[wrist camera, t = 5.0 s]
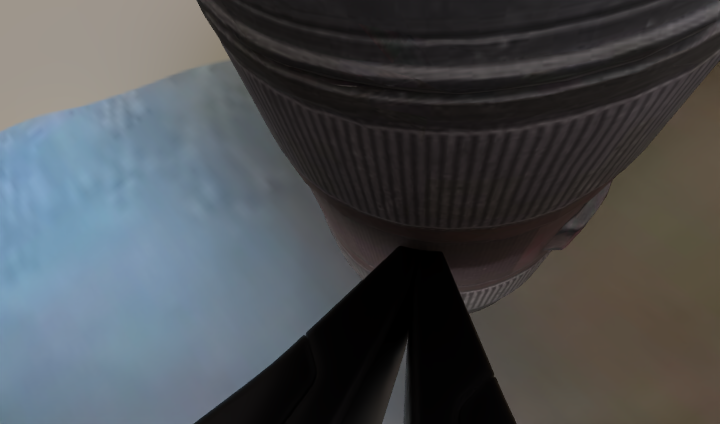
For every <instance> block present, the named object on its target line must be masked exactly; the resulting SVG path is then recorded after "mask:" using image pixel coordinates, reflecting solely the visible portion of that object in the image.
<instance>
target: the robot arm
mask: <svg viewBox="0 0 720 424" xmlns="http://www.w3.org/2000/svg"><path fill="white" fill-rule="evenodd" d="M407 339H408V344H407ZM406 344H407V358H406V381H405V404H404V424H516V422H515V419H514V417H513V415H512V413H511V411H510V409H509V406H508V404H507V402H506V400H505V398H504V395H503V393H502V391H501V388H500V386H499V384H498V381H497V379H496V378H495V377H494V372H493V370H492V368H491V365H490V363H489V360H488V358H487V356H486V353H485V351H484V349H483V346H482V344H481V342H480V339H479V337H478V334H477V332H476V330H475V327H474V325H473V323H472V320H471V318H470V316H469V313H468V311H467V308H466V306H465V304H464V301H463V299H462V297H461V294H460V292H459V289H458V287H457V285H456V282H455V280H454V278H453V275H452V273H451V271H450V268H449V266H448V263H447V261H446V259H445V256H444V254H443V252H441V251H426V250H421V252H420V250H418V249H413V248H408V247H404V246H398V247H397V248H396V249H395V250H394V251H393V252H392V253H391V254H390V255H389V256H388V257H387V258H386V259H384V260H383V261H382V262H381V263H380V264H379V265H378V266H377V267H376V268H375V269H374V270H373V271H372V272H371V273H370V274H368V275H367V276H366V277H365V278H364V279H363V280H362V281H361V282H360V283H359V284H358V285H357V286H356V287H355V288H353V289H352V290H351V291H350V292H349V293H348V294H347V295H346V296H345V297H344V298H343V299H342V300H341V301H340V302H339V303H337V304H336V305H335V306H334V307H333V308H332V309H331V310H330V311H329V312H328V313H327V314H326V315H325V316H324V317H323V318H321V319H320V320H319V321H318V322H317V323H316V324H315V325H314V326H313V327H312V328H311V329H310V330H309V331H308V332H307V333H306V335H303V336H302V337H301V338H300V339H299V340H298V341H297V342H296V343H295V344H293V345H292V346H291V347H290V348H289V349H288V350H287V351H286V352H285V353H283V354H282V355H281V356H280V357H279V358H278V359H277V360H276V361H274V362H273V363H272V364H271V365H270V366H269V367H267V368H266V369H265V370H263V371H262V372H261V373H260V374H258V375H257V376H256V377H255V378H253V379H252V380H251V381H250V382H248V383H247V384H246V385H244V386H243V387H242V388H240V389H239V390H238V391H236V392H235V393H234V394H232V395H231V396H230V397H228V398H227V399H226V400H224V401H223V402H222V403H220V404H219V405H218V406H216V407H215V408H214V409H212V410H211V411H210V412H208V413H207V414H206V415H204V416H203V417H202V418H200V419H199V420H198V421H196V422H195V423H194V424H382V422H383V419H384V415H385V412H386V409H387V406H388V403H389V399H390V396H391V393H392V390H393V387H394V383H395V380H396V377H397V374H398V371H399V367H400V364H401V361H402V358H403V355H404V351H405V348H406Z"/></svg>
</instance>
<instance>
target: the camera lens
mask: <svg viewBox="0 0 720 424" xmlns="http://www.w3.org/2000/svg"><path fill="white" fill-rule="evenodd" d="M197 2H198V4H199V6H200V8H201V10H202V12H203V14H204V16H205V17H206V18H207V20H208V21H209V23H210V25H211V27H212V28H213V30H214V31H215V32H216V34H217V35H218V37H219V39H220V41H221V43H222V45H223V46H224V48H225V50H226V52H227V54H228V56H229V58H230V59H231V61H232V63H233V65H234V67H235V68H236V70H237V72H238V74H239V76H240V77H241V79H242V81H243V83H244V85H245V86H246V88H247V90H248V92H249V94H250V95H251V97H252V99H253V101H254V103H255V104H256V106H257V108H258V110H259V112H260V113H261V115H262V117H263V119H264V121H265V122H266V124H267V126H268V128H269V130H270V131H271V133H272V135H273V137H274V139H275V140H276V142H277V143H278V145H279V147H280V148H281V150H282V151H283V153H284V154H285V156H286V157H287V158H288V160H289V161H290V162H291V164H292V165H293V166H294V168H295V169H296V170H297V172H298V173H299V174H300V176H301V177H302V178H303V180H304V181H305V183H306V184H308V185H309V186H310V188H311V190H312V192H313V194H314V195H315V197H316V199H317V201H318V203H319V205H320V207H321V209H322V211H323V213H324V215H325V218H326V221H327V223H328V226H329V228H330V230H331V232H332V234H333V236H334V238H335V240H336V242H337V244H338V246H339V248H340V250H341V252H342V253H343V255H344V257H345V258H346V260H347V261H348V263H349V265H350V266H351V267H352V268H353V269H354V270H355V271H356V272H357V274H358V275H359V276H360V277H361V278H362V279H364V278H365V277H366V276H367V275H368V274H370V273H371V272H372V271H373V270H374V269H375V268H376V267H377V266H378V265H379V264H380V263H381V262H382V261H383V260H384V259H386V258H387V257H388V256H389V255H390V254H391V253H392V252H393V251H394V250H395V249H396V248H397V247H398V246H404V247H408V248H413V249H418V250H420V252H421V250H426V251H441V252H443V254H444V256H445V259H446V261H447V263H448V266H449V268H450V271H451V273H452V275H453V278H454V280H455V282H456V285H457V287H458V289H459V292H460V294H461V297H462V299H463V301H464V304H465V306H466V308H467V311H468V313H473V312H476V311H479V310H481V309H483V308H486V307H488V306H490V305H492V304H493V303H495V302H497V301H498V300H499V299H501V298H502V297H504V296H506V295H508V294H509V293H511V292H513V291H514V290H515V289H517V288H518V287H520V286H521V285H522V284H523V283H524V282H525V281H526V280H527V279H528V278H529V277H530V276H531V275H532V274H533V273H534V271H535V270H536V269H537V268H538V267H539V266H540V264H541V263H542V262H543V261H544V259H545V258H546V257H547V256H548V255H549V253H550V252H551V251H552V250H562V249H564V248H565V247H566V246H567V245H569V244H570V242H571V241H572V240H573V239H574V238H575V236H577V235H578V234H579V232H580V231H581V230H582V229H583V228H584V226H585V225H586V224H587V222H588V221H589V220H590V219H591V217H592V216H593V215H594V214H595V212H596V211H597V210H598V208H599V207H600V205H601V204H602V202H603V201H604V199H605V198H606V196H607V193H608V191H609V188H610V185H611V182H612V180H613V179H614V178H615V177H616V176H617V175H618V174H619V173H620V172H622V171H623V170H624V169H626V168H627V167H628V166H629V165H630V164H631V163H632V162H633V161H634V160H635V159H636V158H637V157H638V156H639V155H640V154H641V153H642V152H643V151H644V150H645V149H646V147H647V146H648V145H649V144H650V143H651V141H652V140H653V139H654V138H655V137H656V136H657V134H658V133H659V132H660V131H661V130H662V128H663V127H664V126H665V125H666V124H667V122H668V121H669V120H670V119H671V118H672V117H673V115H674V114H675V113H676V112H677V111H678V109H679V108H680V107H681V106H682V105H683V103H684V102H685V101H686V100H687V99H688V98H689V96H690V95H691V94H692V93H693V92H694V90H695V89H696V88H697V87H698V86H699V84H700V83H701V82H702V81H703V80H704V79H705V77H706V76H707V75H708V74H709V73H710V71H711V70H712V69H713V68H714V67H715V65H716V64H717V63H718V62H719V61H720V0H197Z"/></svg>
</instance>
